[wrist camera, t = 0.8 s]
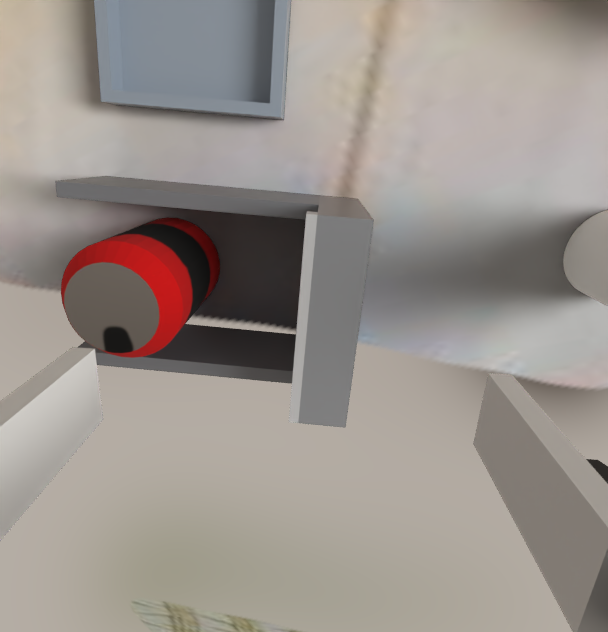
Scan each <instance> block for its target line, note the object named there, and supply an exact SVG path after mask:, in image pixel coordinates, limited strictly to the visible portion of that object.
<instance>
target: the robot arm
mask: <svg viewBox="0 0 608 632" xmlns="http://www.w3.org/2000/svg"><path fill="white" fill-rule="evenodd" d="M102 420H103V414H102V405H101V396H100V388H99V380H98V371H97V363H96V354H95V349H92V348H75V347H72V348H71V349H69V350H68V351H67V352H65V353H64V354H63V355H61V356H60V357H59V358H57V359H56V360H55V361H53V362H52V363H51V364H49V365H48V366H47V367H46V368H44V369H43V370H42V371H40V372H39V373H37V374H36V375H35V376H33V377H32V378H31V379H29V380H28V381H27V382H25V383H24V384H23V385H21V386H20V387H19V388H17V389H16V390H15V391H13V392H12V393H11V394H9V395H8V396H7V397H5V398H4V399H2V400H1V401H0V541H1V540H2V538H3V537H4V536H5V535H6V534H7V533H8V531H9V530H10V529H11V528H12V526H13V525H14V524H15V523H16V522H17V521H18V520H19V518H20V517H21V516H22V515H23V513H24V512H25V511H26V510H27V509H28V508H29V507H30V505H31V504H32V503H33V502H34V501H35V499H36V498H37V497H38V496H39V495H40V494H41V492H42V491H43V490H44V489H45V488H46V486H47V485H48V484H49V483H50V482H51V480H52V479H53V478H54V477H55V476H56V475H57V473H58V472H59V471H60V470H61V469H62V467H63V466H64V465H65V464H66V463H67V462H68V461H69V459H70V458H71V457H72V456H73V455H74V453H75V452H76V451H77V450H78V448H79V447H80V446H81V445H82V444H83V442H84V441H85V440H86V439H87V438H88V437H89V436H90V434H91V433H92V432H93V431H94V430H95V429H96V427H97V426H98V425H99V424H100V422H102ZM474 446H475V448H476V450H477V452H478V453H479V455H480V457H481V459H482V461H483V463H484V465H485V467H486V469H487V470H488V472H489V474H490V476H491V478H492V480H493V482H494V484H495V486H496V487H497V489H498V491H499V493H500V495H501V497H502V499H503V501H504V503H505V504H506V506H507V508H508V510H509V512H510V514H511V516H512V518H513V520H514V521H515V523H516V525H517V527H518V529H519V531H520V533H521V535H522V536H523V538H524V540H525V542H526V544H527V546H528V548H529V550H530V552H531V553H532V555H533V557H534V559H535V561H536V563H537V565H538V567H539V569H540V571H541V572H542V574H543V576H544V578H545V580H546V581H547V584H548V586H549V587H550V589H551V591H552V593H553V595H554V597H555V599H556V600H557V603H558V604H559V606H560V608H561V610H562V612H563V614H564V616H565V617H566V620H567V621H568V623H569V625H570V627H571V629H572V631H573V632H608V466H606V465H605V464H603V463H602V462H600V461H598V460H591V459H590V460H589V459H585V458H584V456H583V455H582V454H581V453H580V452H579V451H578V450H577V449H576V447H575V446H574V445H573V444H572V443H571V442H570V440H569V439H568V438H567V437H566V436H565V435H564V434H563V433H562V431H561V430H560V429H559V428H558V427H557V426H556V425H555V423H554V422H553V421H552V420H551V419H550V418H549V417H548V415H547V414H546V413H545V412H544V411H543V410H542V409H541V407H540V406H539V405H538V404H537V403H536V402H535V401H534V400H533V398H532V397H531V396H530V395H529V394H528V393H527V392H526V390H525V389H524V388H523V387H522V386H521V385H520V384H519V382H517V380H516V379H515V378H514V377H513V376H512V375H508V374H492V373H489V374H488V377H487V382H486V387H485V391H484V396H483V401H482V406H481V410H480V415H479V420H478V425H477V429H476V434H475V439H474Z"/></svg>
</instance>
